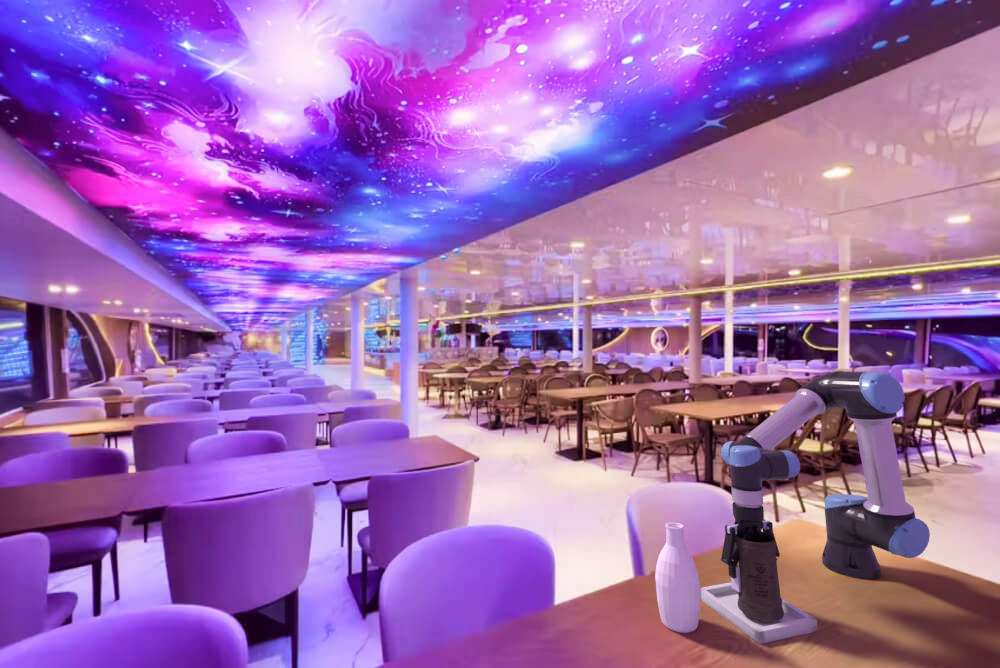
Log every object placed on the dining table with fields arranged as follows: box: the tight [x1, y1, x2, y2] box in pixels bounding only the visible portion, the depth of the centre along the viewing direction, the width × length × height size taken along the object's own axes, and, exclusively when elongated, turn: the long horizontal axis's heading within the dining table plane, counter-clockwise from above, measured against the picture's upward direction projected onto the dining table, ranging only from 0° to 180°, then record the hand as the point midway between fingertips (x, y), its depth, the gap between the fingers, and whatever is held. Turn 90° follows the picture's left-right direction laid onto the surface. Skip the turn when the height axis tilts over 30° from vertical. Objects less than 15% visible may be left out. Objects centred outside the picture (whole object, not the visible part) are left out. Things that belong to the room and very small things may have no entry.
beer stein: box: [735, 531, 784, 621], centre depth 122 cm, size 15×11×20 cm
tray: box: [700, 581, 819, 645], centre depth 122 cm, size 18×22×3 cm
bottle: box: [654, 521, 701, 634], centre depth 119 cm, size 11×11×25 cm
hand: (752, 586), depth 122 cm, fingers closed on beer stein, 10 cm apart
